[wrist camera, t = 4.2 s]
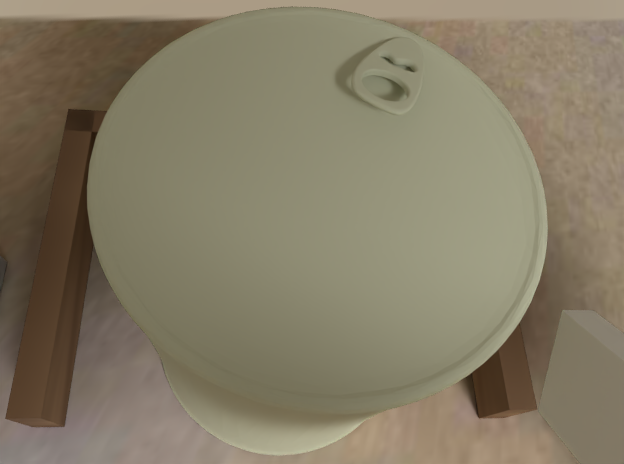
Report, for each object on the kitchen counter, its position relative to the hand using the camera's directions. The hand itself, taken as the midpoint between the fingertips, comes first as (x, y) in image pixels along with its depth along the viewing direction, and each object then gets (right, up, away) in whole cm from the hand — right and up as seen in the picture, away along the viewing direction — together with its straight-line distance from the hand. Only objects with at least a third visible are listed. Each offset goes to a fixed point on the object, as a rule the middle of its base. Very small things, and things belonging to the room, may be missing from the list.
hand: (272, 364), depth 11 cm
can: (0, -1, +9) cm, 10 cm away
